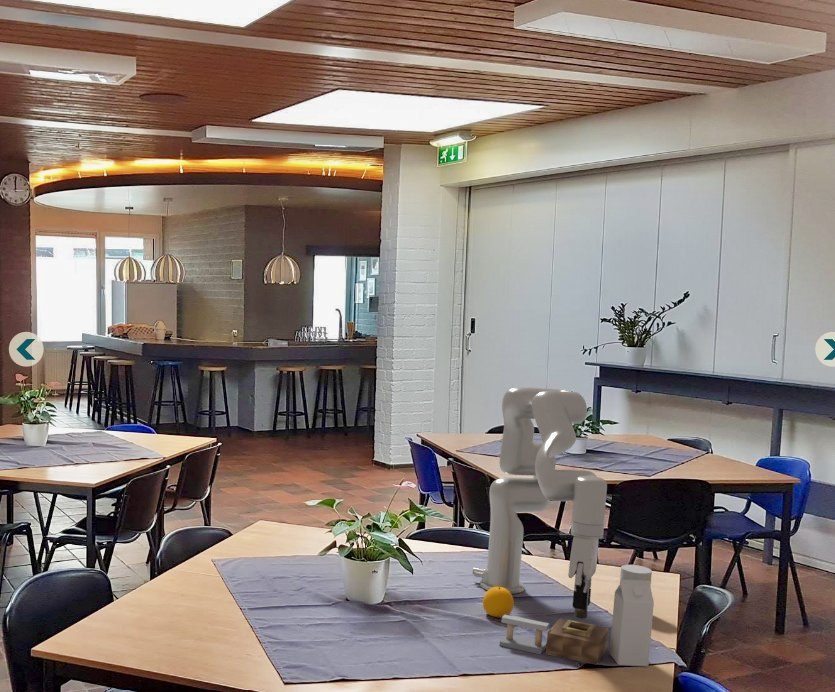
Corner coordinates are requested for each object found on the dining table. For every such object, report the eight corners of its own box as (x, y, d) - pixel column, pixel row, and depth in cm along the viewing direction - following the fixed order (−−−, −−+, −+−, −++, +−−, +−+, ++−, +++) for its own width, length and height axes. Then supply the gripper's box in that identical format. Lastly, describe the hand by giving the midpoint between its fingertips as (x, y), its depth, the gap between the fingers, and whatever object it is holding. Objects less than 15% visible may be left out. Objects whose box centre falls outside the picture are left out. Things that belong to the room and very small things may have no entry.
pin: (572, 617, 222) (576, 575, 222) (575, 613, 225) (578, 572, 225) (585, 619, 221) (588, 577, 221) (588, 616, 224) (591, 574, 223)
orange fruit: (515, 613, 248) (518, 585, 248) (508, 622, 240) (511, 593, 240) (486, 608, 251) (488, 580, 250) (478, 616, 243) (480, 588, 243)
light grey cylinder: (648, 619, 251) (652, 575, 251) (617, 615, 253) (621, 571, 253) (647, 610, 259) (651, 567, 259) (617, 606, 261) (620, 563, 260)
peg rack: (497, 645, 224) (499, 619, 223) (504, 637, 229) (506, 612, 229) (542, 654, 220) (544, 628, 219) (549, 646, 225) (551, 621, 225)
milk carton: (609, 654, 223) (616, 575, 222) (638, 655, 224) (645, 576, 223) (618, 665, 216) (625, 584, 215) (648, 667, 217) (655, 585, 216)
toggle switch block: (545, 653, 220) (547, 628, 220) (557, 638, 231) (559, 614, 231) (597, 664, 216) (599, 639, 216) (606, 648, 227) (609, 623, 227)
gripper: (578, 520, 231) (573, 594, 232) (563, 533, 216) (557, 612, 217) (609, 525, 228) (603, 600, 229) (596, 538, 213) (589, 618, 214)
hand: (581, 605), depth 223 cm, fingers closed on pin, 3 cm apart
